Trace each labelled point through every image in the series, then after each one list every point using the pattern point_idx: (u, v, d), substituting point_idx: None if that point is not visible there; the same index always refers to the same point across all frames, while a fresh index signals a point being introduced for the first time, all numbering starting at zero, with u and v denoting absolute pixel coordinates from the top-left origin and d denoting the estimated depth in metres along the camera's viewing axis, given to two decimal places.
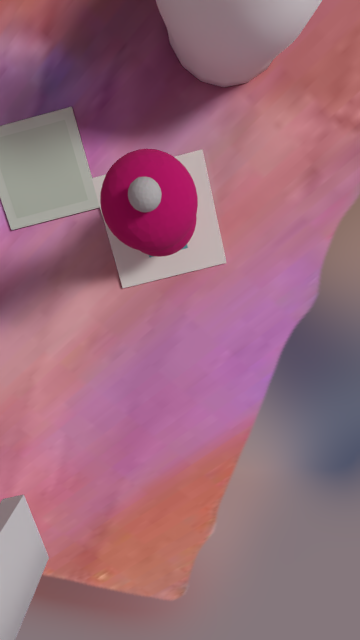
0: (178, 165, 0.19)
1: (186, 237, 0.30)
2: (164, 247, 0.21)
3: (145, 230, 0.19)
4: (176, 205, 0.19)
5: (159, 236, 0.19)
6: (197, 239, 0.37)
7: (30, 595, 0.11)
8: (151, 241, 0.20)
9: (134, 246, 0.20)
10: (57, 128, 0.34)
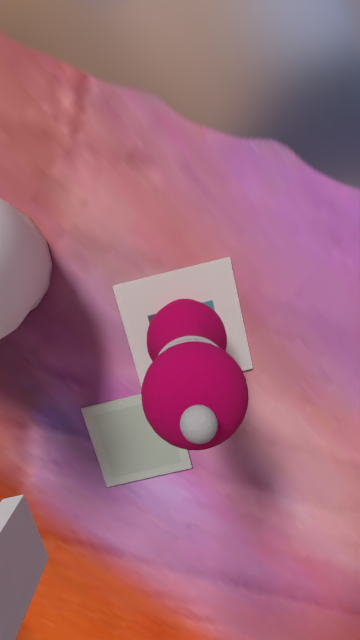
0: (160, 374, 0.17)
1: (209, 316, 0.28)
2: (245, 384, 0.18)
3: (232, 414, 0.17)
4: (206, 382, 0.16)
5: (237, 397, 0.17)
6: (203, 290, 0.34)
7: (30, 595, 0.11)
8: (242, 403, 0.17)
9: (243, 416, 0.18)
10: (100, 422, 0.36)
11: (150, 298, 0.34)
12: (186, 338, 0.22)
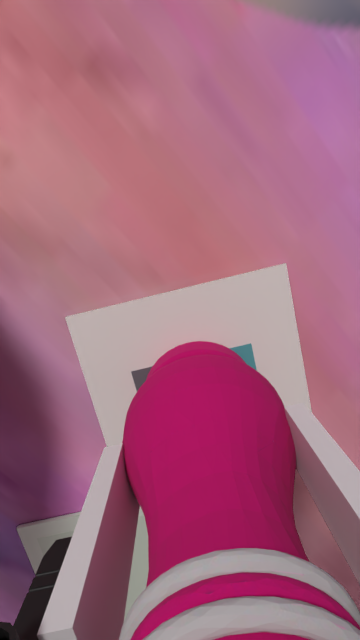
0: None
1: (263, 402, 0.12)
2: None
3: None
4: None
5: None
6: (234, 325, 0.18)
7: (134, 527, 0.12)
8: None
9: None
10: None
11: (135, 340, 0.18)
12: (231, 568, 0.06)
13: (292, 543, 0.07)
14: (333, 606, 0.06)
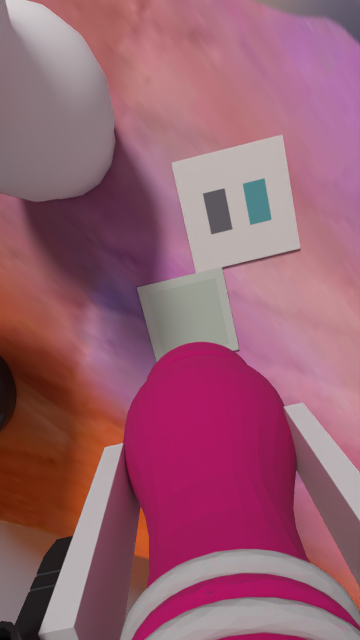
0: None
1: (264, 403, 0.12)
2: None
3: None
4: None
5: None
6: (256, 168, 0.36)
7: (134, 527, 0.12)
8: None
9: None
10: (154, 301, 0.39)
11: (206, 175, 0.36)
12: (231, 569, 0.06)
13: (293, 544, 0.07)
14: (333, 607, 0.06)
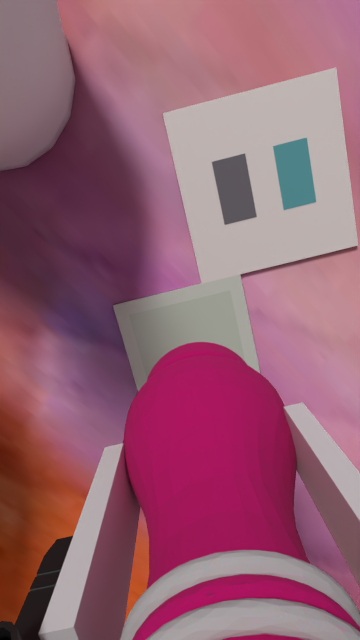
0: None
1: (264, 403, 0.12)
2: None
3: None
4: None
5: None
6: (294, 121, 0.23)
7: (134, 527, 0.12)
8: None
9: None
10: (140, 325, 0.26)
11: (216, 133, 0.23)
12: (231, 570, 0.06)
13: (293, 545, 0.07)
14: (334, 608, 0.06)
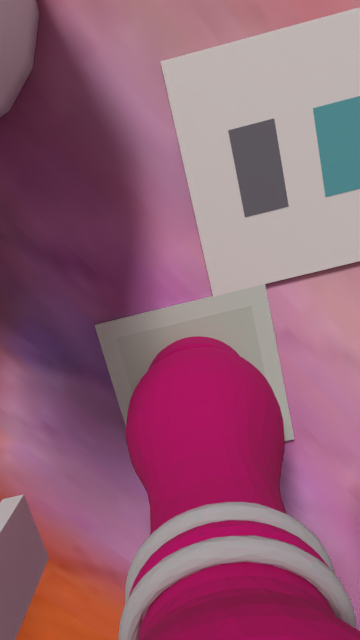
0: None
1: (254, 389, 0.13)
2: None
3: None
4: None
5: None
6: (343, 73, 0.17)
7: (30, 595, 0.11)
8: None
9: None
10: (131, 351, 0.20)
11: (235, 90, 0.17)
12: (220, 516, 0.07)
13: (274, 503, 0.09)
14: (304, 546, 0.07)
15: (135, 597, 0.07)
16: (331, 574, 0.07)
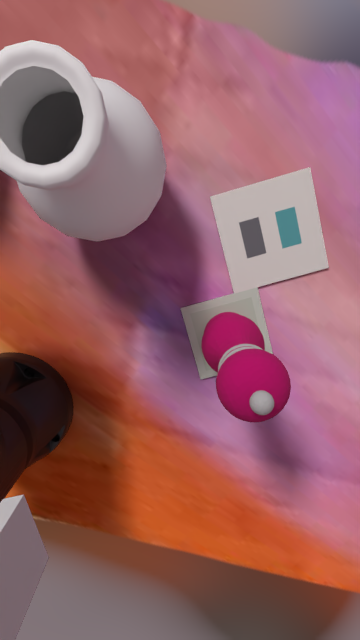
0: (233, 371, 0.26)
1: (252, 327, 0.36)
2: (288, 376, 0.27)
3: (281, 396, 0.26)
4: (264, 375, 0.25)
5: (285, 385, 0.26)
6: (287, 197, 0.40)
7: (30, 595, 0.11)
8: (288, 389, 0.26)
9: (288, 398, 0.27)
10: (197, 320, 0.43)
11: (241, 206, 0.40)
12: (241, 345, 0.30)
13: None
14: None
15: (223, 361, 0.30)
16: None
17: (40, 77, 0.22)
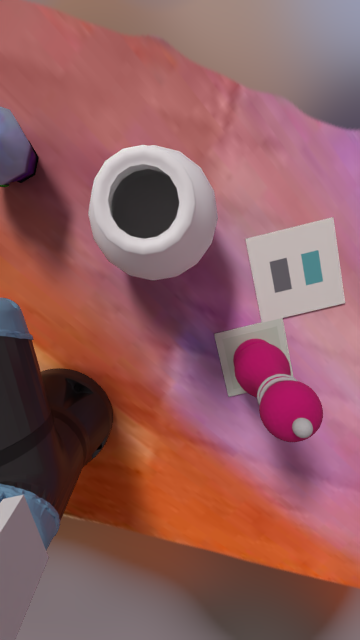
0: (277, 400, 0.32)
1: (281, 355, 0.42)
2: (321, 405, 0.33)
3: (316, 422, 0.31)
4: (304, 405, 0.31)
5: (319, 413, 0.31)
6: (312, 242, 0.45)
7: (30, 595, 0.11)
8: (321, 416, 0.32)
9: None
10: (228, 344, 0.48)
11: (272, 248, 0.46)
12: (278, 375, 0.36)
13: None
14: (295, 381, 0.36)
15: (263, 388, 0.36)
16: None
17: None
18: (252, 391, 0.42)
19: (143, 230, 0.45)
